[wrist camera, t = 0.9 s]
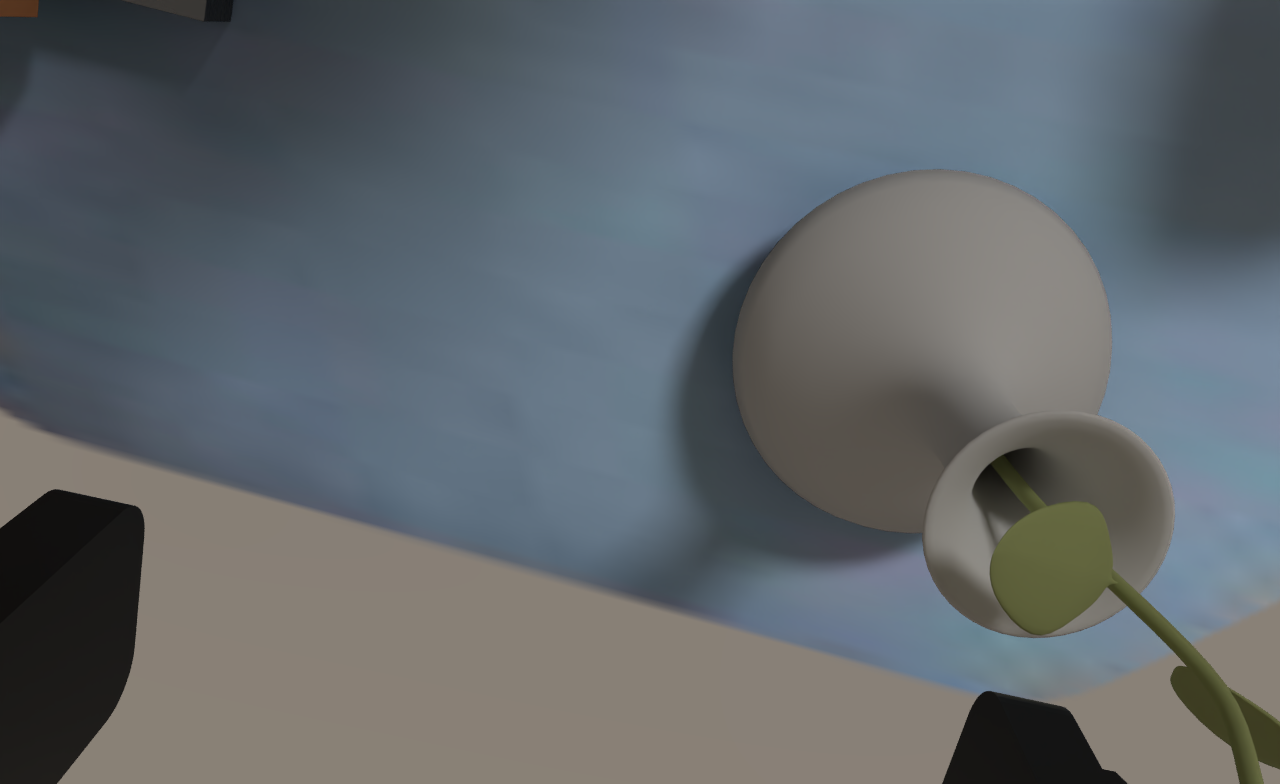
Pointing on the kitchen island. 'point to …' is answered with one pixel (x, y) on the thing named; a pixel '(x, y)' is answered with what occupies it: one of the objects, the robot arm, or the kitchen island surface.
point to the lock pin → (19, 8)
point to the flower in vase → (970, 412)
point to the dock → (192, 8)
